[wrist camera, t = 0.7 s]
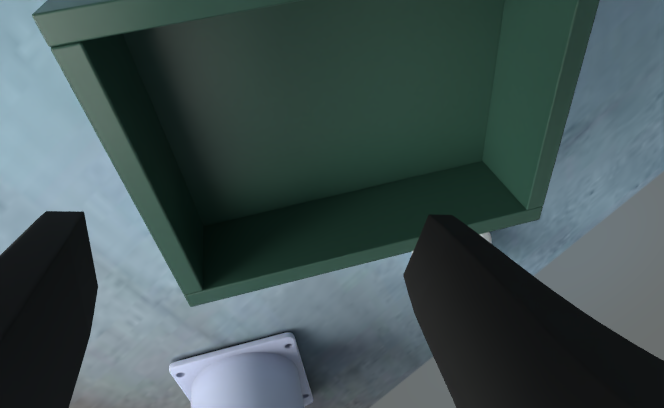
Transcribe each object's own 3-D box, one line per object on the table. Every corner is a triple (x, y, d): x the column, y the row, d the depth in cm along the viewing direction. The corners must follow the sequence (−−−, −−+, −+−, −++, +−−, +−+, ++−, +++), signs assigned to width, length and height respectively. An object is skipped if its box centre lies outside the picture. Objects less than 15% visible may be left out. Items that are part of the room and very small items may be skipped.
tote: (488, 163, 23) (539, 219, 19) (192, 233, 21) (190, 307, 18) (529, -105, 15) (625, -92, 12) (74, -27, 14) (30, 14, 10)
